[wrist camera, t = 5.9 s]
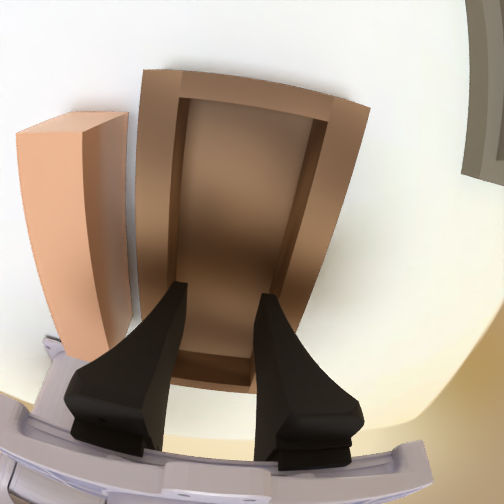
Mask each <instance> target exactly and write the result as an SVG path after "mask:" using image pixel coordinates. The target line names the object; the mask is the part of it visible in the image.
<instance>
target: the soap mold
mask: <svg viewBox="0 0 504 504" xmlns="http://www.w3.org/2000/svg"><path fill="white" fill-rule="evenodd" d="M465 4H466V12H467V22H468V35H469V59H470V83H469V108H468V122H467V133H466V142H465V150H464V157H463V164H462V170H461V174H464V175H467V176H470V177H473V178H477V179H480V180H484V181H487V182H491V183H495V184H498V185H502V186H504V0H465Z"/></svg>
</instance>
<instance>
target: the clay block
mask: <svg viewBox="0 0 504 504" xmlns="http://www.w3.org/2000/svg"><path fill="white" fill-rule="evenodd" d="M128 114H129V112H107V111H74V112H69V113H66V114H63V115H60V116H57V117H55V118H52V119H49V120H47V121H44V122H41V123H39V124H36V125H34V126H32V127H29V128H27V129H24V130H22V131H20V132H18V133H16V146H17V160H18V170H19V179H20V187H21V195H22V201H23V208H24V213H25V219H26V224H27V229H28V234H29V239H30V243H31V248H32V252H33V256H34V260H35V264H36V268H37V271H38V275H39V278H40V282H41V285H42V288H43V292H44V295H45V298H46V301H47V304H48V307H49V310H50V313H51V316H52V319H53V321H54V324H55V327H56V329H57V332H58V335H59V337H60V340H61V342H62V345H63V347H64V349H65V352H66V354H67V356H70V357H74V358H77V359H81V360H84V361H88V362H92V361H94V360H95V359H97V358H98V357H100V356H101V355H103V354H104V353H106V352H107V351H109V350H110V349H112V348H113V347H114V346H116V345H117V344H118V343H119V342H121V341H122V340H123V339H124V338H125V336H126V333H127V330H128V328H129V325H130V322H131V320H132V317H133V312H132V303H131V293H130V283H129V270H128V256H127V238H126V202H125V180H126V145H127V128H128Z"/></svg>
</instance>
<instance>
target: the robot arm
mask: <svg viewBox="0 0 504 504" xmlns="http://www.w3.org/2000/svg"><path fill="white" fill-rule="evenodd" d="M187 289H188V283H185V282H178V281H174V282H172V284H171V285H170V287H169V289H168V290H167V292H166V293H165V294H164V296H163V297H162V298H161V300H160V301H159V302H158V304H157V305H156V306H155V307H154V309H153V310H152V311H151V312H150V313H149V314H148V316H147V317H146V318H145V319H144V320H143V321H142V322H141V323H140V324H139V325H138V326H137V327H136V328H135V329H134V330H133V331H132V332H131V333H130V334H129V335H128V336H127V337H125V338H124V339H123V340H122V341H121V342H119V343H118V344H117V345H116V346H114V347H113V348H112V349H110V350H109V351H107V352H106V353H104V354H103V355H101V356H100V357H98V358H97V359H95V360H94V361H92V362H88V361H84V360H81V359H77V358H74V357H70V356H67V354H66V352H65V349H64V347H63V345H62V342H59V341H55V340H52V339H49V338H44V339H43V344H44V346H45V348H46V350H47V352H48V354H49V356H50V358H51V360H52V364H51V366H50V368H49V370H48V373H47V375H46V377H45V380H44V382H43V384H42V387H41V389H40V391H39V394H38V396H37V399H36V401H35V404H34V407H33V409H32V412H31V413H30V412H29V411H28V409H27V408H26V407H25V406H24V405H23V404H22V403H20V402H18V401H16V400H14V399H12V398H10V397H8V396H6V395H4V394H0V452H1V453H0V504H381V503H385V502H389V501H392V500H396V499H400V498H403V497H405V496H408V495H410V494H412V493H414V492H416V491H419V490H421V489H423V488H425V487H427V486H429V485H431V484H433V482H434V481H433V477H432V473H431V469H430V465H429V461H428V458H427V454H426V450H425V447H424V443H423V441H422V440H417V441H412V442H407V443H404V444H401V445H399V446H397V447H395V448H394V449H393V450H392V451H389V452H383V453H377V454H370V455H364V456H357V457H351V454H350V449H349V447H351V446H352V441H351V437H352V436H353V435H355V434H356V433H357V432H358V431H359V430H360V429H361V428H362V427H363V425H364V422H365V421H364V417H363V413H362V409H361V407H360V404H359V401H357V400H356V399H355V398H353V397H352V396H351V395H349V394H348V393H347V392H346V391H344V390H343V389H342V388H341V387H339V386H338V385H337V384H336V383H335V382H334V381H333V380H332V379H331V378H330V377H329V376H328V375H327V374H326V373H325V372H324V371H323V370H322V369H321V368H320V367H319V366H318V364H317V363H316V362H315V361H314V360H313V358H312V357H311V356H310V355H309V353H308V352H307V351H306V349H305V348H304V346H303V345H302V343H301V342H300V340H299V339H298V337H297V335H296V334H295V332H294V330H293V329H292V327H291V325H290V323H289V322H288V320H287V318H286V316H285V314H284V312H283V310H282V308H281V305H280V303H279V301H278V298H277V296H276V295H275V294H267V293H262V294H261V298H260V302H259V306H258V309H257V313H256V317H255V321H254V330H253V349H254V361H255V372H256V383H257V407H256V432H255V449H254V461H237V460H222V459H211V458H202V457H194V456H186V455H179V454H173V453H166V452H162V445H163V435H164V426H165V417H166V409H167V402H168V394H169V388H170V381H171V377H172V372H173V369H174V365H175V361H176V358H177V354H178V351H179V347H180V343H181V340H182V336H183V332H184V326H185V320H186V311H187Z"/></svg>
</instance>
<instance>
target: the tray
mask: <svg viewBox="0 0 504 504" xmlns="http://www.w3.org/2000/svg"><path fill="white" fill-rule="evenodd" d="M370 109H371V108H369V107H367V106H364V105H361V104H358V103H355V102H352V101H349V100H346V99H342V98H339V97H335V96H331V95H328V94H324V93H320V92H316V91H312V90H308V89H303V88H299V87H295V86H290V85H285V84H280V83H275V82H270V81H264V80H258V79H252V78H246V77H239V76H232V75H224V74H215V73H206V72H195V71H181V70H160V69H156V70H143V76H142V85H141V94H140V105H139V116H138V130H137V148H136V177H135V222H136V252H137V270H138V284H139V296H140V307H141V317H142V321H143V320H144V319H145V318H146V317H147V316H148V314H149V313H150V312H151V311H152V310H153V309H154V307H155V306H156V305H157V304H158V302H159V301H160V300H161V298H162V297H163V296H164V294H165V293H166V292H167V290H168V289H169V287H170V285H171V284H172V282H174V281H178V282H185V283H188V289H187V311H186V320H185V326H184V332H183V336H182V340H181V343H180V347H179V351H178V354H177V358H176V361H175V365H174V369H173V372H172V377H171V381H170V384H173V385H180V386H186V387H193V388H201V389H209V390H217V391H226V392H237V393H249V394H257V383H256V372H255V361H254V349H253V330H254V321H255V317H256V313H257V309H258V306H259V302H260V298H261V294H262V293H267V294H275V295H276V296H277V298H278V301H279V303H280V305H281V308H282V310H283V312H284V314H285V316H286V318H287V320H288V322H289V323H290V325H291V327H292V329H293V330H294V332H295V333H296V330H297V328H298V326H299V323H300V321H301V318H302V316H303V313H304V311H305V308H306V305H307V303H308V300H309V298H310V295H311V293H312V290H313V287H314V285H315V282H316V279H317V277H318V274H319V271H320V268H321V266H322V263H323V260H324V257H325V255H326V252H327V249H328V246H329V243H330V240H331V238H332V235H333V232H334V229H335V226H336V223H337V220H338V217H339V214H340V211H341V208H342V205H343V202H344V199H345V195H346V192H347V189H348V186H349V183H350V179H351V176H352V173H353V170H354V166H355V163H356V159H357V156H358V153H359V149H360V146H361V142H362V138H363V135H364V131H365V128H366V124H367V120H368V116H369V112H370Z"/></svg>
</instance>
